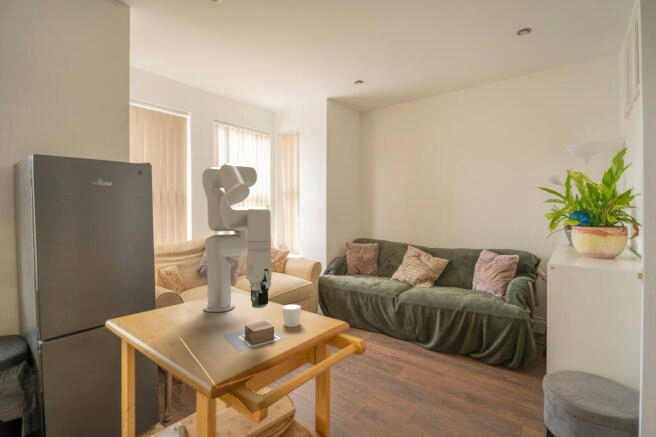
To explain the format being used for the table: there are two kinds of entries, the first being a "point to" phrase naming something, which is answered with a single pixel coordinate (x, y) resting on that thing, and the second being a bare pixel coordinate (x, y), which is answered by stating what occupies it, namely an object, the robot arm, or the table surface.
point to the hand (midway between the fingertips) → (259, 302)
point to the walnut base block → (259, 332)
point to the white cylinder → (291, 315)
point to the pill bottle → (256, 296)
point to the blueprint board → (243, 343)
